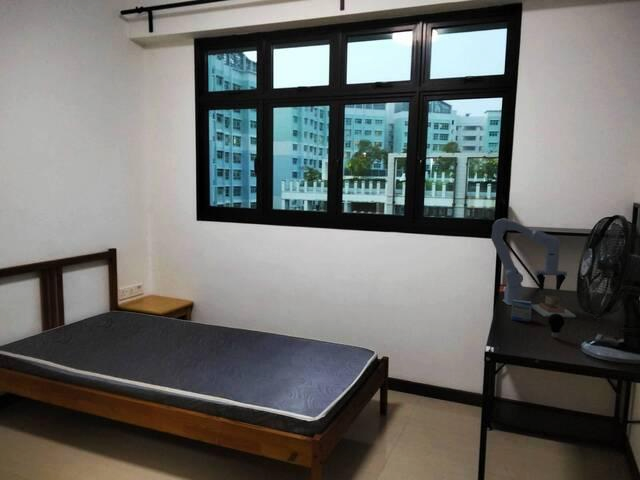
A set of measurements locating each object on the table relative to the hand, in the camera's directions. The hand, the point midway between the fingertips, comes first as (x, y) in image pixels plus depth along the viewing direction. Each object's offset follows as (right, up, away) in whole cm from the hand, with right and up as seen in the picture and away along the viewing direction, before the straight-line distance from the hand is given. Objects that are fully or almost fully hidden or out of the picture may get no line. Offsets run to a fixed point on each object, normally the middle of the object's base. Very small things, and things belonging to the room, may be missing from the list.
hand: (549, 289), depth 230 cm
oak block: (-1, -9, -5) cm, 10 cm away
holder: (-1, -10, -5) cm, 11 cm away
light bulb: (-19, -15, -44) cm, 50 cm away
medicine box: (-22, -12, -19) cm, 31 cm away
